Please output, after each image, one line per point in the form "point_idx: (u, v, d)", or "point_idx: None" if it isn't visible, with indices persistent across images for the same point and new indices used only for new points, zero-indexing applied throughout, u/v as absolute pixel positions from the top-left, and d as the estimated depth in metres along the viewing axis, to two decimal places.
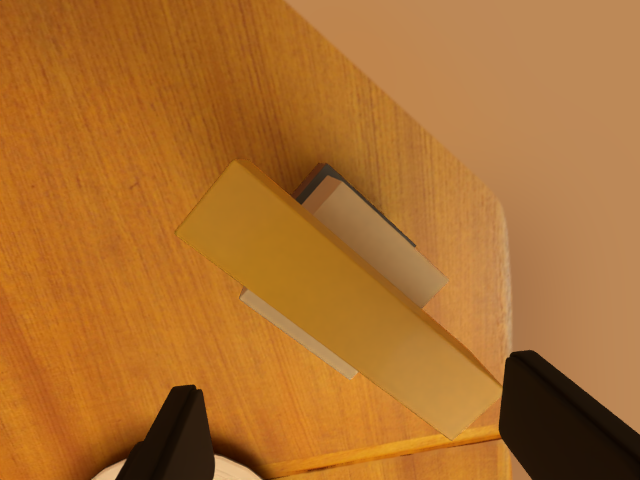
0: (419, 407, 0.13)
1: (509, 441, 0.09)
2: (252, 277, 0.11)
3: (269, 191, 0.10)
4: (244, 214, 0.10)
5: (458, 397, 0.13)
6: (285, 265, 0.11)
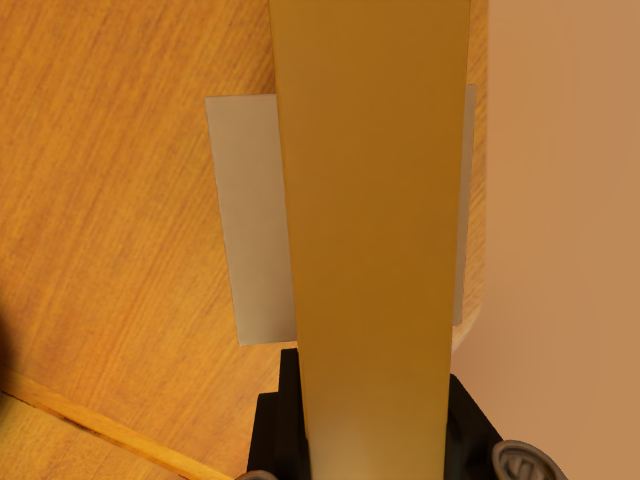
0: (323, 457, 0.07)
1: None
2: (300, 7, 0.05)
3: None
4: None
5: None
6: (370, 48, 0.05)
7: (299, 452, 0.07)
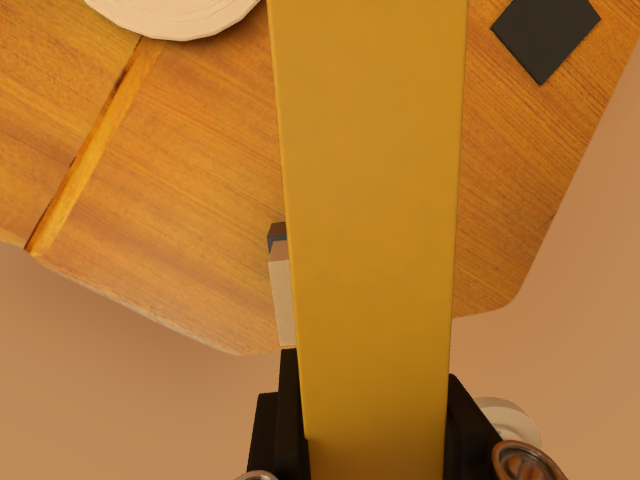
0: (322, 455, 0.07)
1: None
2: (298, 2, 0.05)
3: None
4: None
5: None
6: (368, 43, 0.05)
7: (299, 452, 0.07)
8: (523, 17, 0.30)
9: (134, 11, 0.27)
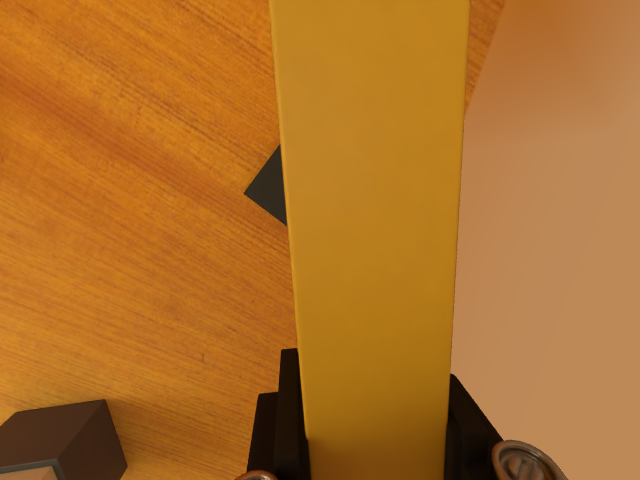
0: (323, 453, 0.07)
1: None
2: None
3: None
4: None
5: (383, 479, 0.07)
6: (370, 39, 0.05)
7: (299, 452, 0.07)
8: (281, 181, 0.25)
9: None
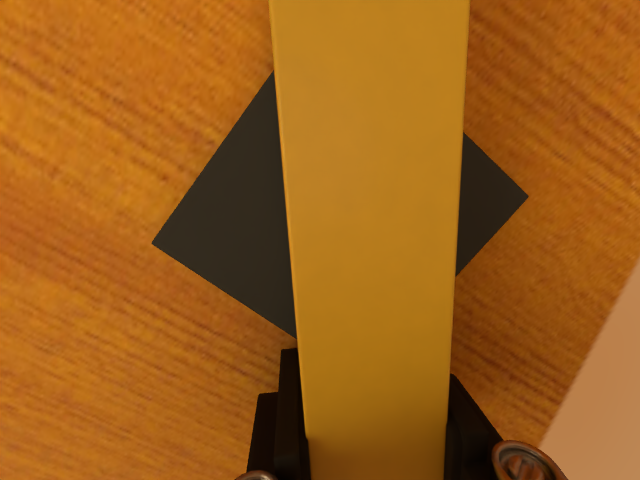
0: (323, 452, 0.07)
1: None
2: None
3: None
4: None
5: (383, 478, 0.07)
6: (370, 39, 0.05)
7: (299, 452, 0.07)
8: (256, 210, 0.09)
9: None
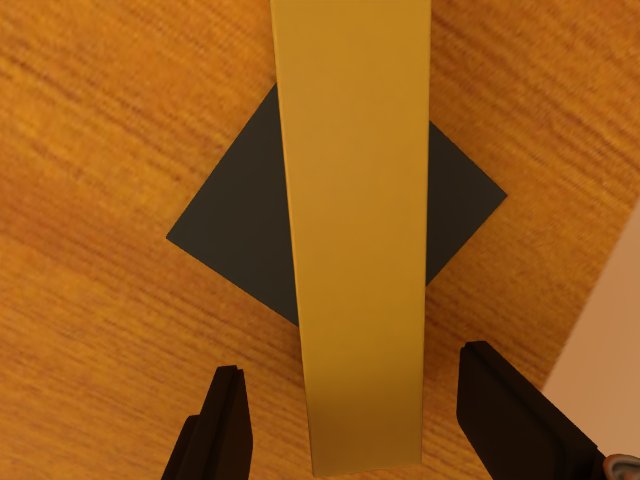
0: (320, 407, 0.08)
1: (464, 426, 0.10)
2: (297, 41, 0.06)
3: None
4: None
5: (371, 430, 0.09)
6: (352, 71, 0.06)
7: None
8: (260, 207, 0.10)
9: None
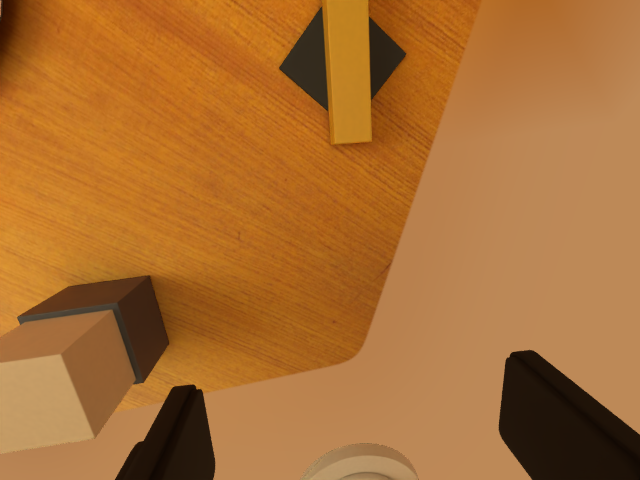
0: (337, 113, 0.25)
1: (509, 441, 0.09)
2: None
3: None
4: None
5: (354, 124, 0.26)
6: None
7: None
8: (314, 56, 0.27)
9: None
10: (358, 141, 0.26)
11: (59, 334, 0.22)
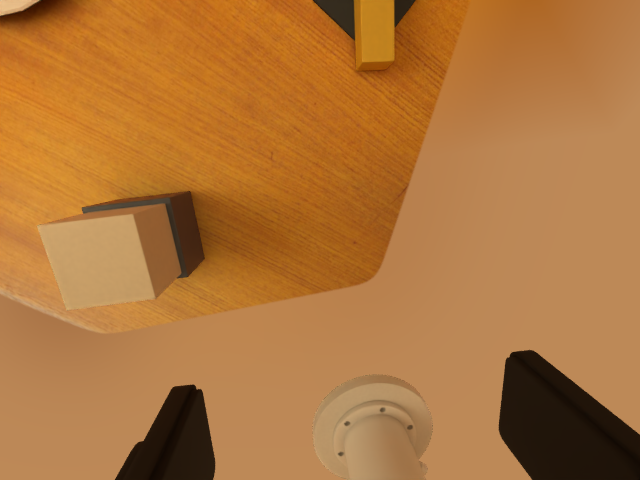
0: (365, 33, 0.29)
1: (509, 441, 0.09)
2: None
3: None
4: None
5: (379, 44, 0.30)
6: None
7: None
8: None
9: None
10: (382, 60, 0.30)
11: (125, 211, 0.26)
